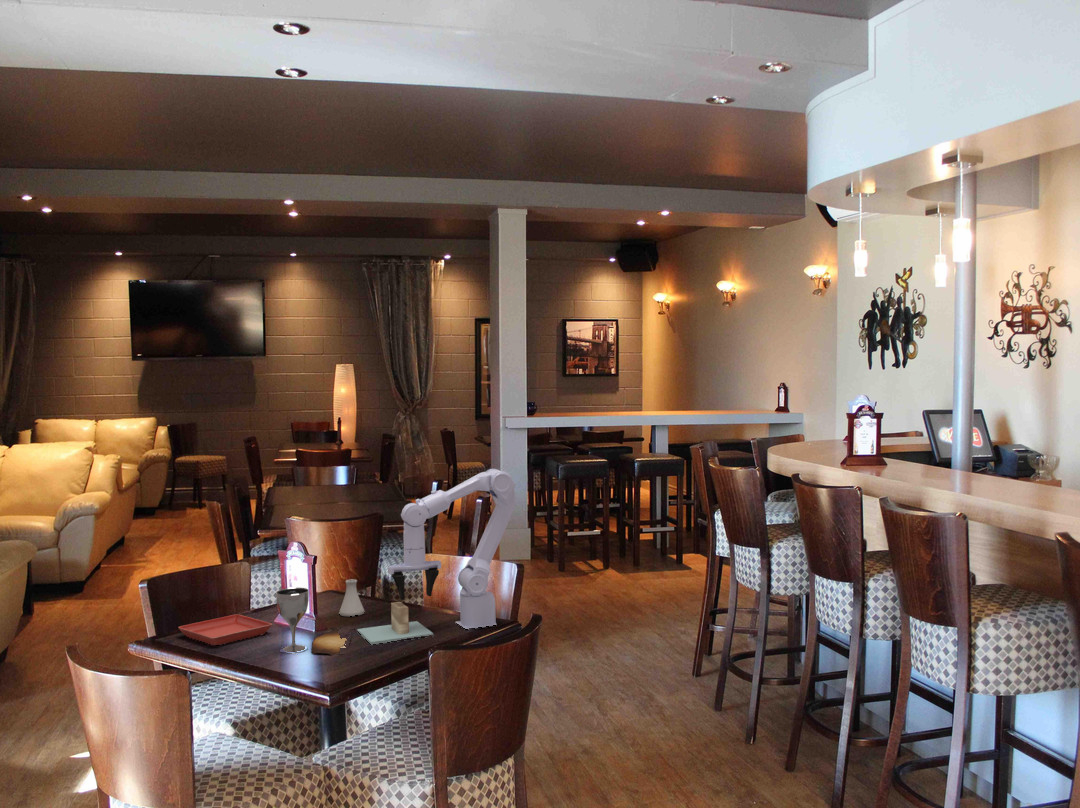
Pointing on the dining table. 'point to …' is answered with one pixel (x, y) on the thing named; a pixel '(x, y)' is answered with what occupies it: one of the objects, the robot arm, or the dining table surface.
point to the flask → (351, 600)
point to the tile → (400, 618)
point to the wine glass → (292, 610)
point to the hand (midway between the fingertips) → (415, 597)
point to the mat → (392, 633)
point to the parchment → (328, 643)
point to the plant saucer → (225, 629)
